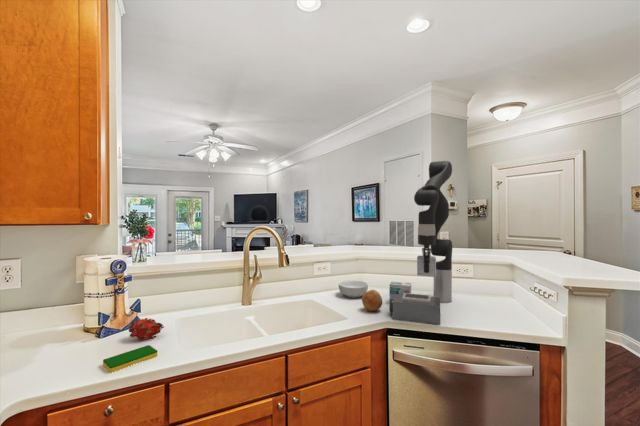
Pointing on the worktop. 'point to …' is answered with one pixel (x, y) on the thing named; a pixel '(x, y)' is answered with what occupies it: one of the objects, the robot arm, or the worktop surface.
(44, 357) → the worktop surface
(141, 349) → the dish sponge
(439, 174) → the robot arm
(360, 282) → the cereal bowl
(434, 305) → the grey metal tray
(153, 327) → the dragon fruit
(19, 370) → the worktop surface
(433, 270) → the medicine box
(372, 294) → the onion
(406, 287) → the light bulb box
